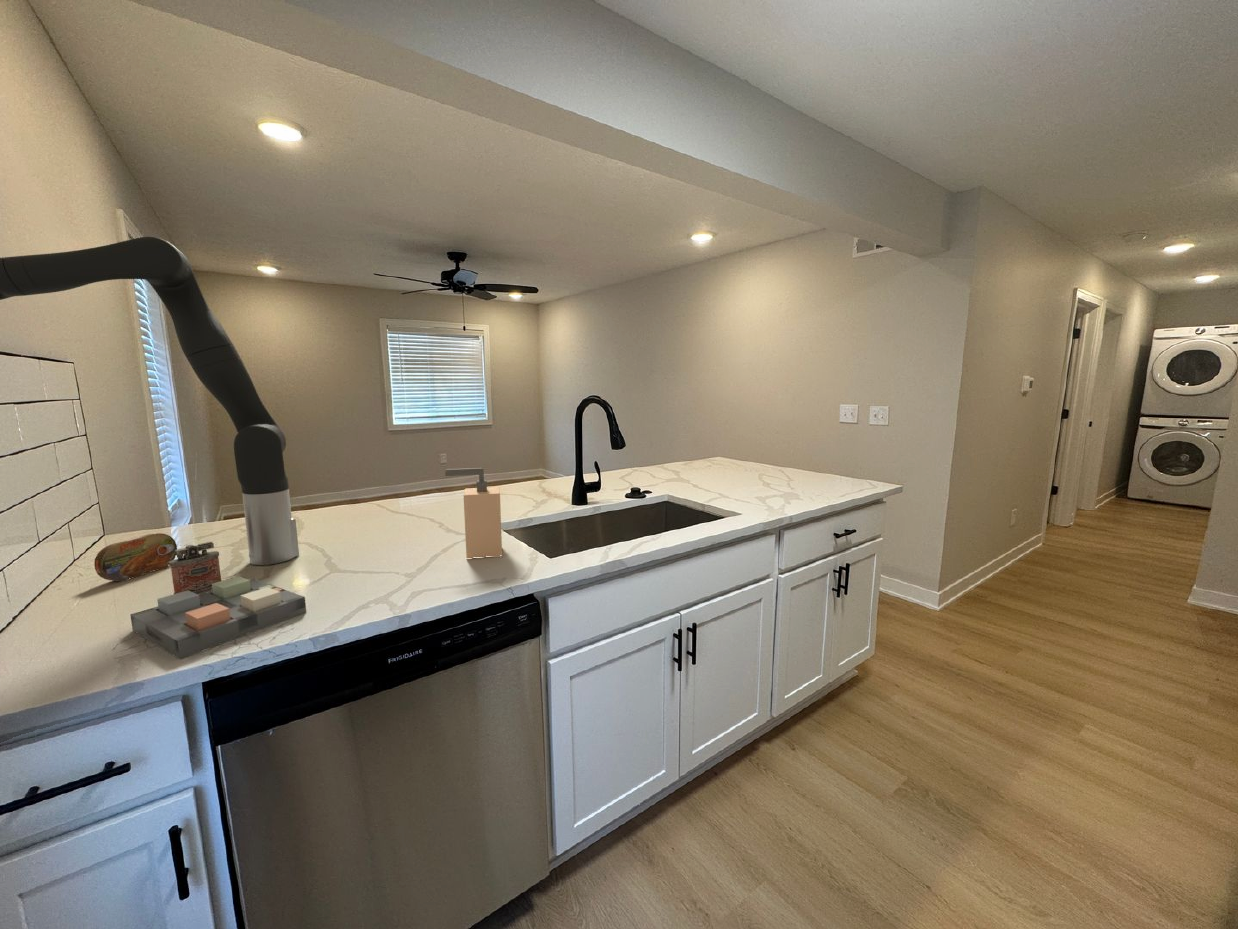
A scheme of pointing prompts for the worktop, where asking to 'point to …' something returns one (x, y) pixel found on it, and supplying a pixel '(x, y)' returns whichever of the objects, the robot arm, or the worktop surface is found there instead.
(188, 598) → the slate key
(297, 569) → the worktop surface
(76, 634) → the worktop surface
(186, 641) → the keypad
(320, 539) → the worktop surface
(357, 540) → the worktop surface
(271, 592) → the cream key
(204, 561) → the lighter
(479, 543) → the soap dispenser
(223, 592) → the sage key
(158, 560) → the tin
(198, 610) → the terracotta key
